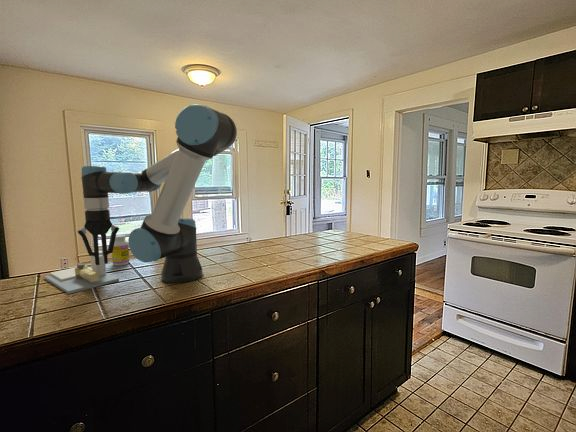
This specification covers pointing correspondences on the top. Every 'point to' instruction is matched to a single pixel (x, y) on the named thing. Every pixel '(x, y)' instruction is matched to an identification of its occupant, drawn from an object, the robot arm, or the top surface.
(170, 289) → the top surface
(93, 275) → the bar
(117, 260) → the supplement bottle
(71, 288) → the mounted latch plate
